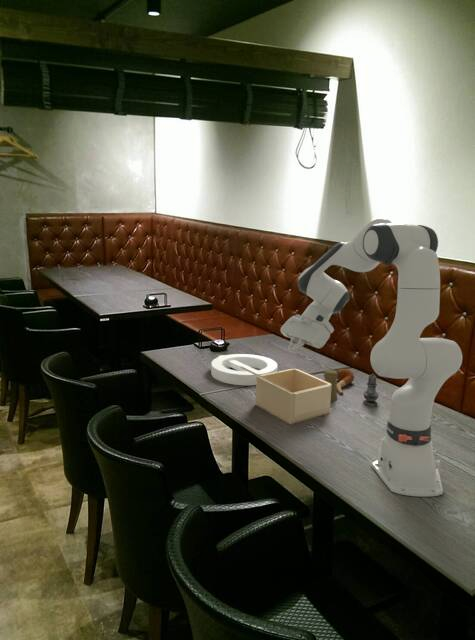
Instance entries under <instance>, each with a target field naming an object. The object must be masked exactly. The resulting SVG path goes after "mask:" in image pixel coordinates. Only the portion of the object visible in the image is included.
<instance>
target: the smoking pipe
mask: <svg viewBox="0 0 475 640" xmlns="http://www.w3.org/2000/svg"><path fill="white" fill-rule="evenodd" d="M336 372H337V373H338V378H337V379H336V381H337V383H336V386H337V393H338V394H339V395H342V396H343V395H344V391H343V390H342V388H343V387H346V386H347V385H349V384H350V383H352V382H353V381H354V380H355V374H354V371H352V370H350V369H348V368H339V369H337V370H336Z"/></svg>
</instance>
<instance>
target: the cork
mask: <svg viewBox="0 0 475 640" xmlns="http://www.w3.org/2000/svg"><path fill="white" fill-rule="evenodd" d="M323 377H324V381H326V382H328V383H331V384H332V387H331V401H330V402H336V401H337V400H338V390H337V386H336V385H337V378H338V373H337V370H334V369H333V370H332V369H327V370H325V371H324V373H323Z"/></svg>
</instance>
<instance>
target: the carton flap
mask: <svg viewBox="0 0 475 640" xmlns="http://www.w3.org/2000/svg"><path fill="white" fill-rule="evenodd" d="M240 368H242V369H244V370H246V371H248V372H250V373H252V374H254V375H256V376H258V377H260V378H262V379H264V380H266V381H268V382H270V383H272V384H274V385H276V386H278V387H280V388H282V389H284V390H286V391H288V392H290V390H288V389H286V388H284V387H282V386H280V385H278V384H276V383H274V382H272V381H270V380H268V379H266V378H264V377H262V376H260V375H258V374H256V373H254V372H252V371H250V370H248V369H246V368H244V367H242V366H241V367H240Z"/></svg>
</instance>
